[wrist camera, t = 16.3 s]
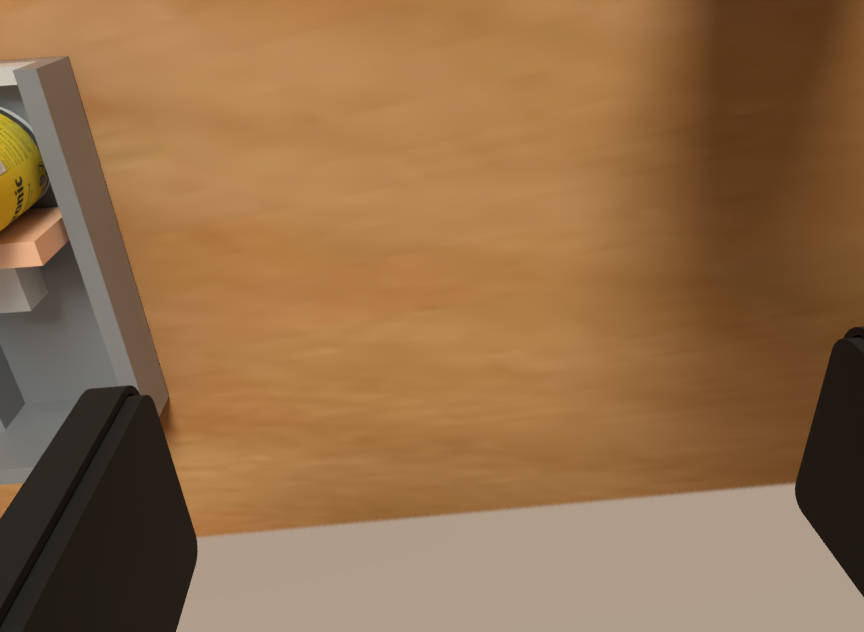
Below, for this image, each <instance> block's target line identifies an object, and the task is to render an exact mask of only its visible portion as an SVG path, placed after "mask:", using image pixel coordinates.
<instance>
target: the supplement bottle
mask: <svg viewBox="0 0 864 632" xmlns="http://www.w3.org/2000/svg"><path fill="white" fill-rule="evenodd" d="M49 184H50V180H49V177H48V174H47V171H46V168H45V165H44V162H43V159H42V156H41V153H40V150H39V147H38V144H37V141H36V138H35V135H34V133H33V130H32V127H31V125H30V124H29V123H27V122H26V121H25V120H24V119H22V118H21V117H20V116H18V115H17V114H15V113H13V112H12V111H10V110H7V109H5V108H3V107H0V231H1V230H3V229H4V228H5V227H6V226H8V225H9V224H10V223H11V222H13V221H14V220H15V219H16V218H18V217H19V216H20V215H21V214H23V213H24V212H25V211H27V210H28V209H29V208H30V207H31V206H33V205H34V204H35V203H36V202H37V201H38V200H39V199H40V198H41V197H42V196H43V195H44V194H45V192H46V191H47V189H48V187H49Z"/></svg>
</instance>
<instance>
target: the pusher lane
mask: <svg viewBox="0 0 864 632" xmlns="http://www.w3.org/2000/svg"><path fill="white" fill-rule="evenodd" d="M0 107H3V108H5V109H7V110H10V111H12V112H13V113H15V114H17V115H18V116H20V117H21V118H22V119H24V120H25V121H26V122H27V123H29V124H30V125H31V127H32V130H33V133H34V135H35V138H36V141H37V144H38V147H39V150H40V153H41V156H42V159H43V162H44V165H45V168H46V171H47V174H48V177H49V180H50V184H49V187H48V189H47V191H46V192H45V194H44V195H43V196H42V197H41V198H40V199H39V200H38V201H37V202H36V203H35V204H34V205H33V206H31V207H30V208H29V209H36V208H50V207H59V210H60V213H61V216H62V219H63V222H64V224H65V227H66V230H67V233H68V236H69V239H70V240H69V241H68V242H67V243H66V244H65V245H64V246H63V247H62V248H61V249H60V250H59V251H58V252H57V253H55V254H54V255H53V256H52V257H51V258H50V259H49V260H48V261H47V262H46V263H45V264H44V265H43V266H38V267H39V269H40V272H41V275H42V277H43V280H44V283H45V286H46V288H47V291H48V293H47V294H46V296H45V297H44V298H43V299H42V300H41V301H40V302H39V303H38V304H37V305H36V306H35V307H34V308H33V309H32V311H24V312H11V313H0V485H4V484H16V483H24V482H25V481H26V479H27V478H28V476H29V475H30V473H31V472H32V470H33V469H34V467H35V465H36V464H37V462H38V461H39V459H40V458H41V456H42V455H43V453H44V452H45V450H46V449H47V447H48V446H49V444H50V442H51V441H52V439H53V438H54V436H55V435H56V433H57V432H58V430H59V429H60V427H61V426H62V424H63V423H64V421H65V419H66V418H67V416H68V415H69V413H70V412H71V410H72V409H73V407H74V406H75V404H76V403H77V401H78V400H79V398H80V396H81V395H82V394H83V393H84V392H85V391H86V390H87V389H91V388H103V387H115V386H128V385H132V386H134V387H136V389H137V390H138V391H139V393H140V395H149V396H151V398H152V399H153V401H154V403H155V406H156V409H157V412H158V416H159V417H160V415H161V412H162V410H163V408H164V406H165V404H166V402H167V399H168V397H169V395H168V392H167V388H166V385H165V382H164V378H163V375H162V371H161V368H160V365H159V361H158V358H157V355H156V351H155V348H154V344H153V341H152V338H151V334H150V331H149V328H148V324H147V321H146V317H145V314H144V311H143V307H142V304H141V301H140V297H139V294H138V290H137V287H136V284H135V280H134V277H133V274H132V270H131V267H130V263H129V260H128V257H127V253H126V250H125V247H124V243H123V240H122V236H121V233H120V230H119V226H118V223H117V220H116V216H115V213H114V209H113V206H112V203H111V199H110V196H109V193H108V189H107V186H106V182H105V179H104V176H103V172H102V169H101V166H100V162H99V159H98V155H97V152H96V149H95V145H94V142H93V139H92V135H91V132H90V128H89V125H88V122H87V118H86V115H85V112H84V108H83V105H82V102H81V98H80V95H79V91H78V88H77V85H76V81H75V78H74V75H73V71H72V68H71V64H70V61H69V58H68V56H65V57H50V58H35V59H20V60H5V61H0Z"/></svg>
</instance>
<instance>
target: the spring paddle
mask: <svg viewBox="0 0 864 632" xmlns="http://www.w3.org/2000/svg"><path fill="white" fill-rule="evenodd" d="M69 240H70V239H69V236H68V233H67V230H66V227H65V224H64V222H63V219H62V216H61V213H60V210H59V207H50V208H36V209H28V210H27V211H25V212H24V213H23V214H21V215H20V216H19V217H18V218H16V219H15V220H14V221H13V222H11V223H10V224H9V225H8V226H6V227H5V228H4V229H3V230H1V231H0V313H11V312H24V311H32V309H33V308H34V307H35V306H36V305H37V304H38V303H39V302H40V301H41V300H42V299H43V298H44V297H45V296H46V294H47V293H48V291H47V288H46V286H45V283H44V280H43V277H42V275H41V272H40V269H39V267H38V266H43V265H44V264H45V263H46V262H47V261H48V260H49V259H50V258H51V257H52V256H53V255H54V254H55V253H57V252H58V251H59V250H60V249H61V248H62V247H63V246H64V245H65V244H66V243H67V242H68V241H69Z"/></svg>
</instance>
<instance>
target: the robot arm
mask: <svg viewBox="0 0 864 632" xmlns="http://www.w3.org/2000/svg"><path fill="white" fill-rule="evenodd" d="M795 495H796V499H797V503H798V505H799V508H800V509H801V511H802V513H803V514H804V515H805V517H806V518H807V520H808V521H809V522H810V524H811V525H812V527H813V528H814V529H815V531H816V532H817V533H818V535H819V536H820V538H821V539H822V540H823V542H824V543H825V544H826V546H827V547H828V549H829V550H830V551H831V553H832V554H833V556H834V557H835V558H836V560H837V561H838V562H839V564H840V565H841V567H842V568H843V569H844V571H845V572H846V573H847V575H848V576H849V578H850V579H851V580H852V582H853V583H854V584H855V586H856V587H857V589H858V590H859V591H860V592H861V594H862V595H863V597H864V327H855V328H852V329H850V330H849V331H848V332H847V333H846V334H845V336H844V338H843V339H840V340H838V341H837V342H836V343H835V344H834V347H833V349H832V352H831V356H830V360H829V363H828V367H827V371H826V374H825V378H824V382H823V385H822V389H821V393H820V396H819V400H818V404H817V407H816V411H815V415H814V418H813V422H812V426H811V429H810V433H809V437H808V440H807V444H806V448H805V451H804V455H803V459H802V462H801V466H800V470H799V473H798V477H797V481H796V486H795ZM196 560H197V539H196V535H195V532H194V528H193V525H192V522H191V519H190V515H189V512H188V509H187V506H186V503H185V499H184V496H183V493H182V490H181V486H180V483H179V480H178V477H177V474H176V470H175V467H174V464H173V461H172V458H171V454H170V451H169V448H168V445H167V441H166V438H165V435H164V432H163V429H162V425H161V422H160V419H159V416H158V412H157V409H156V406H155V403H154V401H153V399H152V398H151V396H149V395H140V393H139V391H138V390H137V389H136V387H134V386H132V385H128V386H115V387H103V388H91V389H87V390H86V391H85V392H84V393H83V394H82V395H81V396H80V398H79V400H78V401H77V403H76V404H75V406H74V407H73V409H72V410H71V412H70V413H69V415H68V416H67V418H66V419H65V421H64V423H63V424H62V426H61V427H60V429H59V430H58V432H57V433H56V435H55V436H54V438H53V439H52V441H51V442H50V444H49V446H48V447H47V449H46V450H45V452H44V453H43V455H42V456H41V458H40V459H39V461H38V462H37V464H36V465H35V467H34V469H33V470H32V472H31V473H30V475H29V476H28V478H27V479H26V481H25V482H24V484H23V485H22V487H21V488H20V490H19V492H18V493H17V495H16V496H15V498H14V499H13V501H12V502H11V504H10V505H9V507H8V508H7V510H6V511H5V513H4V514H3V516H2V517H1V519H0V632H176V629H177V626H178V623H179V619H180V616H181V613H182V609H183V605H184V602H185V599H186V596H187V592H188V589H189V585H190V582H191V579H192V575H193V572H194V569H195V565H196Z"/></svg>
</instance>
